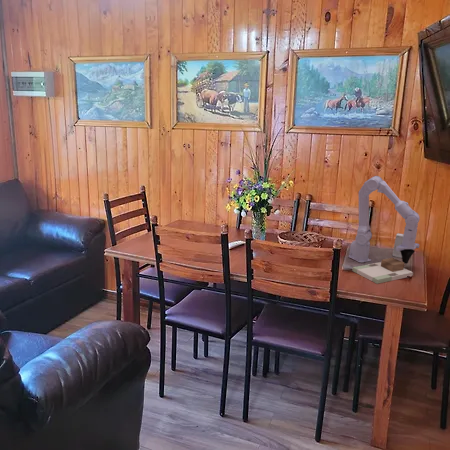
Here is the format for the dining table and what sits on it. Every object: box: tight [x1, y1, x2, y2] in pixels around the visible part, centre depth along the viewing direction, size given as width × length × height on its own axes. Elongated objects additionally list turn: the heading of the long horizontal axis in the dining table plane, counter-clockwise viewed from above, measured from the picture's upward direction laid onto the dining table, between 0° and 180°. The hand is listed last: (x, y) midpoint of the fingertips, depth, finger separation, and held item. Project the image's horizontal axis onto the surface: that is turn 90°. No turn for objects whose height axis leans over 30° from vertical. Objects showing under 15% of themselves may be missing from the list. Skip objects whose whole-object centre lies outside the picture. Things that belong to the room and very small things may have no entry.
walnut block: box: [380, 257, 405, 272], centre depth 216 cm, size 8×8×4 cm
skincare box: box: [392, 233, 404, 259], centre depth 237 cm, size 6×4×12 cm
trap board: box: [352, 261, 414, 285], centre depth 214 cm, size 16×24×2 cm
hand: (404, 262), depth 220 cm, fingers closed
